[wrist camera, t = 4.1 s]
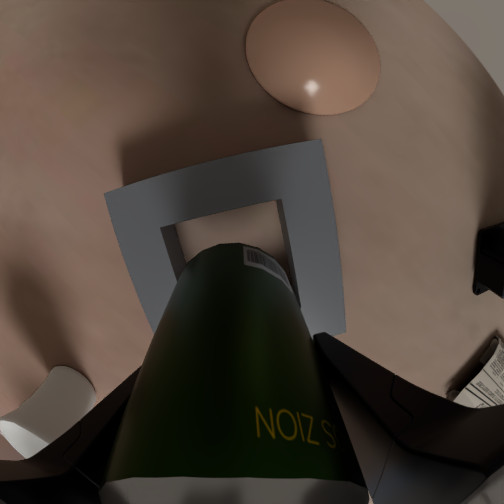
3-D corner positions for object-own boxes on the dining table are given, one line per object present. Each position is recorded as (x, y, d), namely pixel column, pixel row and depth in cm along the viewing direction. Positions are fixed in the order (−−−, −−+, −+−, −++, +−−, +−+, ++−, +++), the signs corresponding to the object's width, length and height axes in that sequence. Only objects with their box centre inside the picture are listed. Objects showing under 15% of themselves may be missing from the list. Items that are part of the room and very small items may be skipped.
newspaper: (529, 380, 31) (537, 388, 28) (491, 424, 34) (498, 434, 31) (490, 328, 24) (507, 343, 20) (424, 405, 27) (436, 423, 23)
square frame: (307, 141, 17) (321, 138, 14) (333, 310, 20) (346, 332, 18) (123, 187, 17) (103, 193, 14) (177, 342, 21) (170, 367, 18)
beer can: (202, 220, 13) (78, 501, 1) (307, 264, 14) (441, 505, 2) (166, 314, 14) (92, 543, 3) (260, 347, 15) (288, 570, 4)
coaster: (356, 1, 13) (358, -1, 13) (391, 110, 16) (393, 109, 16) (232, 7, 13) (232, 4, 13) (262, 125, 16) (263, 124, 16)
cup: (67, 411, 24) (37, 474, 14) (28, 348, 21) (-21, 411, 11) (130, 418, 24) (107, 496, 14) (92, 350, 21) (43, 435, 11)
